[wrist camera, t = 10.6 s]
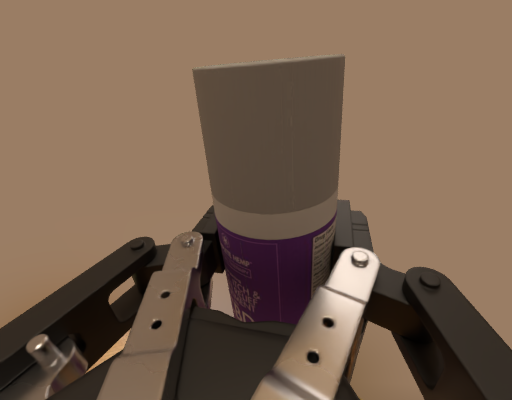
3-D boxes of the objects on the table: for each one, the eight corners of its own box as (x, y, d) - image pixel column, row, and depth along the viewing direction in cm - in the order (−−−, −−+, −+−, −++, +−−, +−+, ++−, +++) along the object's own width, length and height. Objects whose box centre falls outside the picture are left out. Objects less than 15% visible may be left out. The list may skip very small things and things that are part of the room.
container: (226, 374, 14) (151, 72, 7) (262, 307, 18) (238, 62, 10) (310, 418, 12) (328, 57, 5) (331, 333, 16) (360, 52, 8)
